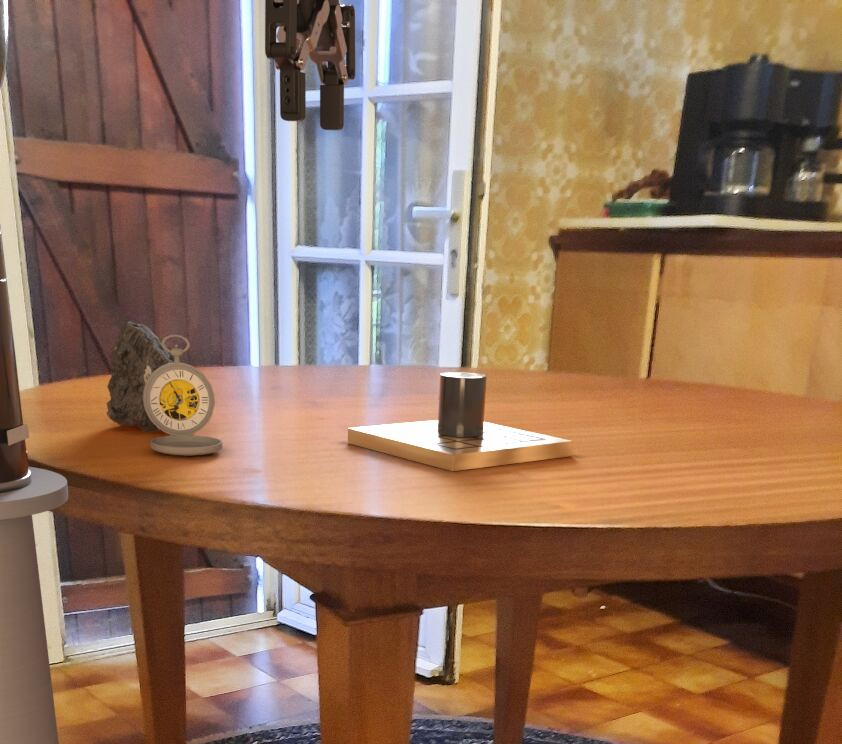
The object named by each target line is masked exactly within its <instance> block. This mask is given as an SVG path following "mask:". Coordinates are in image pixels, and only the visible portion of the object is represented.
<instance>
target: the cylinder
mask: <svg viewBox="0 0 842 744" xmlns="http://www.w3.org/2000/svg"><path fill="white" fill-rule="evenodd" d="M487 382H488V376H487V375H486V374H483V373H478V372H477V373H476V372H469V371H468V372H467V371H466V372H465V371H445V372H441V373H440V374H439V387H438V408H437V409H438V410H437V420H438V428H437V432H438V433H439V434H441V435H445V436H450V437H464V438H468V437H479V436H482V435H483V430H484V422H485V415H486V414H485V413H486V398H487V397H486V395H487V384H488V383H487Z"/></svg>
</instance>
